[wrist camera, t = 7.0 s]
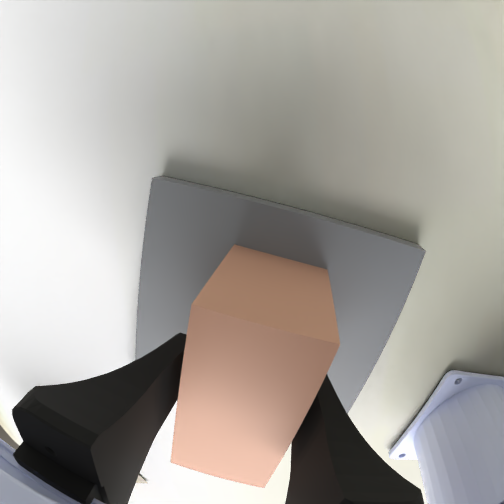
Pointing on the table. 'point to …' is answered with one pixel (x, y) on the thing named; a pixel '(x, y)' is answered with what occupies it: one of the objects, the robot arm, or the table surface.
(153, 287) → the plate
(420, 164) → the table surface
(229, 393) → the block
